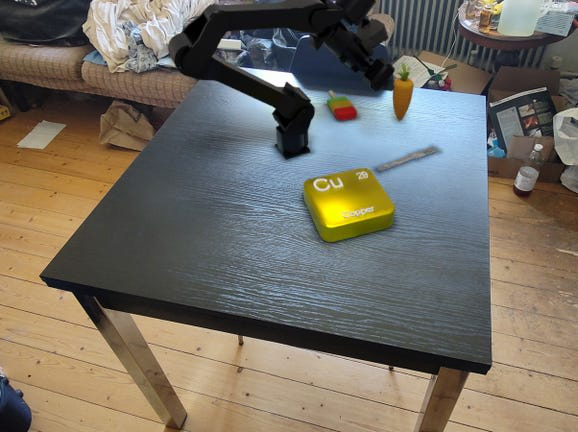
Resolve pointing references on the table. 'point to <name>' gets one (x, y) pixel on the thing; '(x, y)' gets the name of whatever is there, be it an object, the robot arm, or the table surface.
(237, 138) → the table surface
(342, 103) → the popsicle
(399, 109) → the carrot
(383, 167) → the thin grey rod
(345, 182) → the element tile
